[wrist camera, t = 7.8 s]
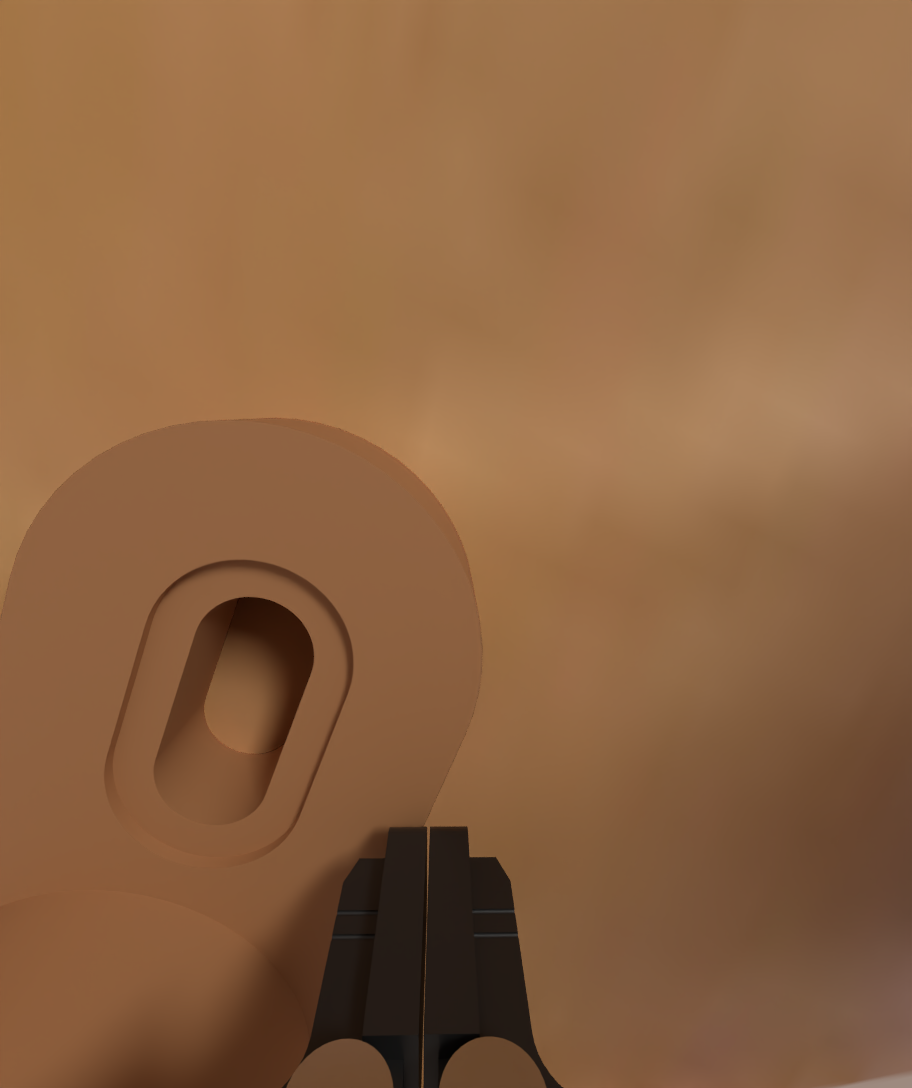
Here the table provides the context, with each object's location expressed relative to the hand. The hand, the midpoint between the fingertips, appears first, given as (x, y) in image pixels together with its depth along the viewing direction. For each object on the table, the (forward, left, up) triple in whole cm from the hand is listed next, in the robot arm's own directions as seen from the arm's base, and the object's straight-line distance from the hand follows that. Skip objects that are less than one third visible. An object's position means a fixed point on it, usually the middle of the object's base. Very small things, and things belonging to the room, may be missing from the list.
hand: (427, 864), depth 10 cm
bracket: (+5, 0, -3) cm, 6 cm away
